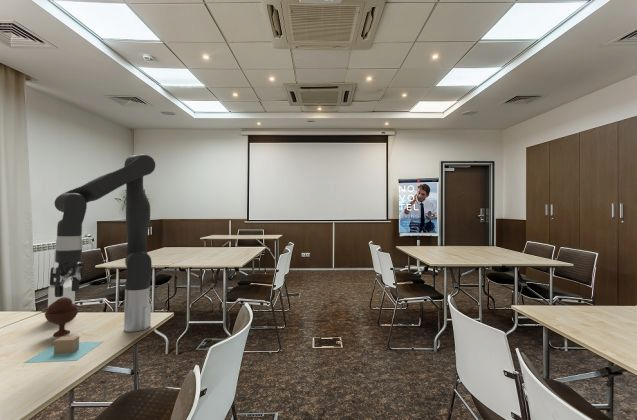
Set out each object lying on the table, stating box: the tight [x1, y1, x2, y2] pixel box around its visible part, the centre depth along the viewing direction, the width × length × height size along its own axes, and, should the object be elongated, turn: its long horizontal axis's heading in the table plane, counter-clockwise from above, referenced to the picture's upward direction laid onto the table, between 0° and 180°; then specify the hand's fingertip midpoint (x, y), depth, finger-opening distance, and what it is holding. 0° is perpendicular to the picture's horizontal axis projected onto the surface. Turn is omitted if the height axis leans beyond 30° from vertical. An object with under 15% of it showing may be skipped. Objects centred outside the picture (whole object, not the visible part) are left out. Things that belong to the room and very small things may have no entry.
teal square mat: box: [23, 335, 104, 364], centre depth 111 cm, size 16×16×5 cm
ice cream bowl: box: [44, 297, 80, 337], centre depth 127 cm, size 11×11×15 cm
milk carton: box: [47, 277, 76, 308], centre depth 146 cm, size 7×7×19 cm
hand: (67, 293), depth 112 cm, fingers open, 8 cm apart
